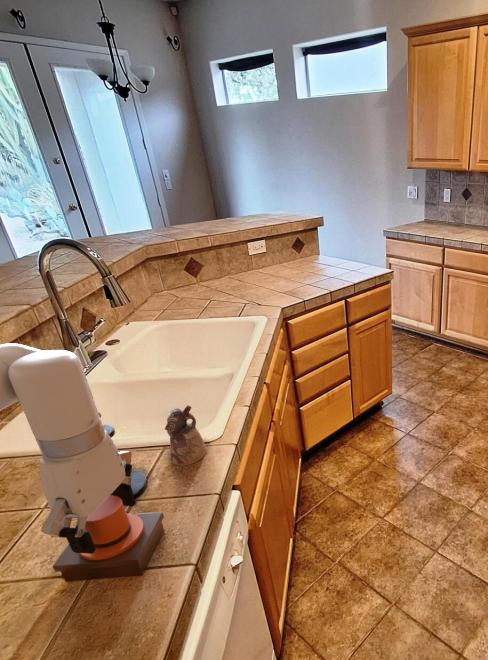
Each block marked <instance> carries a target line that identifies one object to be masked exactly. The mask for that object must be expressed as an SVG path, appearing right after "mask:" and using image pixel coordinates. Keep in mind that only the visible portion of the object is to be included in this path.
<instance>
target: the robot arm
mask: <svg viewBox="0 0 488 660" xmlns="http://www.w3.org/2000/svg"><path fill="white" fill-rule="evenodd" d="M16 403H19V404H20V406H21V408H22V411H23V413H24V416H25V418H26V420H27V423H28V425H29V427H30V430H31V432H32V434H33V436H34V439H35V441H36V443H37V446H38V448H39V451H40V453H41V455H42V457H41V458H40V459H39V460H38V469H39V470H38V471H39V477H40V481H41V485H42V489H43V492H44V496H45V499H46V501H47V504H48V508H49V510H50V512H49V514H48V515H47V517H46V519H45V520H44V523H43V524H42V526H41V529H40V531H41V533H42V534H45V535H47V536H50V537H51V538H61V539H62V538H63V539H65V538H66V541H67V542H68V544H69V545H70V547H71V549H72V551H73V552H75V553H90V554H92V553H93V552H94V551H95V550H96V548H95V545H94V543H93V540H92V538H91V536H90V533H89V531H84V529H85V525H86V520H87V516H89V515H90V514H92V513H93V512H94V511H95V510H96V509H97V508H98V507H99V506H100V505H101V504H102V503H103V502H104V501H105V500H106V499H107V498H108V497H109V496H110V495H111V494H112V495H113V496H117V497H119V498H121V500H122V502H123V505H124V507H134V506H135V505H136V504H137V501H136V499H135V498H134V495H133V492H132V489H131V486H129V485H130V484H131V482H132V478H131V477H130V474H131V470H133V465H132V451H127V450H122V451H119V450H118V448H117V446H116V443H114V440H113V439H112V438H111V437H110V436H109V434H108V433H107V431H106V430H104V428H103V425H104V424H103V422H102V419H101V418H102V414H101V412H100V411H98V408H97V405H96V402H95V399H94V397H93V394H92V390H91V388H90V385H89V381H88V379H87V376H86V373H85V370H84V366H83V364H82V361H81V360H80V357H78V356H77V354H75V353H73V352H72V351H70V350H69V351H68V350H63V349H52V350H51V349H50V350H49V349H48V350H41V349H37V348H35V347H30V346H27V345H24V344H19V343H3V344H0V412H1V411H3V410H5V409H6V408H8V407H10V406H12V405H14V404H16ZM73 519H76V523H75V527H71V524H72V520H73Z"/></svg>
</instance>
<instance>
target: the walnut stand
mask: <svg viewBox="0 0 488 660" xmlns="http://www.w3.org/2000/svg"><path fill="white" fill-rule="evenodd" d="M132 514H133V515H136V516H138V517H140V518H141V519H142V521H143V524H144V530H143V533H142V535H141V537H140V538H139V539H138V541H137V542H136V543H135V544H134V545H132V546H131V547H130V548H129V549H127V550H125V551H124V552H122V553H120V554H118V555H116V556H113V557H110V558H107V559H103V560H88V559H85V558H83V557H82V556H81V555H80V554H79V553H75V552H73V551H72V549H71V547H70V545H69V543H68V544H67V545H66V547H65V549H64V550H62V553H61V554H60V555H59V557H58V558H57V559H56V561H55V562H54V563H53V565H52V568H53V570H54V572H56V573H57V572H60V574H61V575H62V577H63V580H64V581H65V582H66V583H68V582H69V583H70V582H80V581H83V582H84V581H95V580H105V579H106V580H107V579H116V578H117V579H118V578H128V577H129V578H130V577H142V576H144V573H145V571H146V569H147V567H148V565H149V563H150V561H151V559H152V557H153V555H154V553H155V551H156V548H157V547H158V545H159V543H160V540H161V539H162V537H163V535H164V533H165V527H164V525H163V520H164V519H165V516H164V512H163V511H158V512H157V511H155V512H142V513H132ZM84 531H85V529H84Z"/></svg>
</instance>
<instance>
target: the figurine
mask: <svg viewBox="0 0 488 660" xmlns="http://www.w3.org/2000/svg"><path fill="white" fill-rule="evenodd" d="M191 410H192V406H191V405H186V406H185V408H184V409H183V410H181V409H180V408H178V407H174V408H173V409H172V410H171V411H170V412H168V414H167V418H166V425H165V427H164V430H165V431H166V433H167V434H168V437H169V455H170V462H171V464H174V465H177V466H179V467H183V466H184V467H185V466H188V465H192V464H195V463H196V462H198V461H200V460H201V459H202V458H203V457H204V456H205V454H206V445H205V442H204V439H203V437H202V436H201V433H200V431H199V429H198V428H197V427H196V425H197V421H196V418H195V416H194V415H193V414H192V413H191V412H190V411H191ZM188 420H191V422H188Z"/></svg>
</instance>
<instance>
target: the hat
mask: <svg viewBox="0 0 488 660" xmlns="http://www.w3.org/2000/svg"><path fill="white" fill-rule="evenodd" d="M133 514H134V513H127V511H126V508H125V506H124V505H123V502H122V500H121V498H119V497H117V496H109V497H108V498H107V499H106V500H105V501H104V502H103V503H102V504H101V505H100V506H99V507H98V508H97V509H96V510H95V511H94V512H93V513H92V514H90V515H89V516H87V520H86V525H85V531H89V533H90V536H91V538H92V540H93V543H94V545H95V548H96V550H95V551H94V552H93V553H92V554H90V553H79V554H80V555H81V556H82V557H83V558H85V559H88V560H103V559H107V558H110V557H113V556H116V555H118V554H120V553H122V552H124V551H125V550H127V549H129V548H130V547H131V546H132V545H134V544H135V543H136V542H137V541H138V539H139V538H140V537H141V535H142V533H143V530H144V524H143V521H142V519H141V518H140V517H138V516H136V515H133Z"/></svg>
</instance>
